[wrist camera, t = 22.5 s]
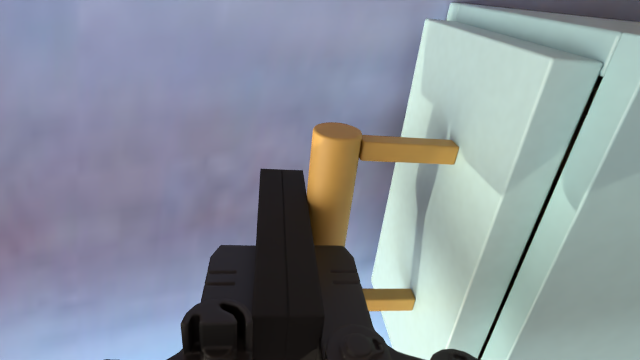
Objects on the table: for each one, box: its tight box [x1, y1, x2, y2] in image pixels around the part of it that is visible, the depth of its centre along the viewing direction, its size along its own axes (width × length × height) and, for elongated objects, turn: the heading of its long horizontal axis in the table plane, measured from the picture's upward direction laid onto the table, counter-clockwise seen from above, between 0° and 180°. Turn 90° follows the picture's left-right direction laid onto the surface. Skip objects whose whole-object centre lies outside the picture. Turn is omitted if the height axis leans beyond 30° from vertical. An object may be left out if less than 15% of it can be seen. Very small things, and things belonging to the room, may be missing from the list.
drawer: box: [307, 19, 603, 360], centre depth 15 cm, size 21×13×7 cm, turn 84°
